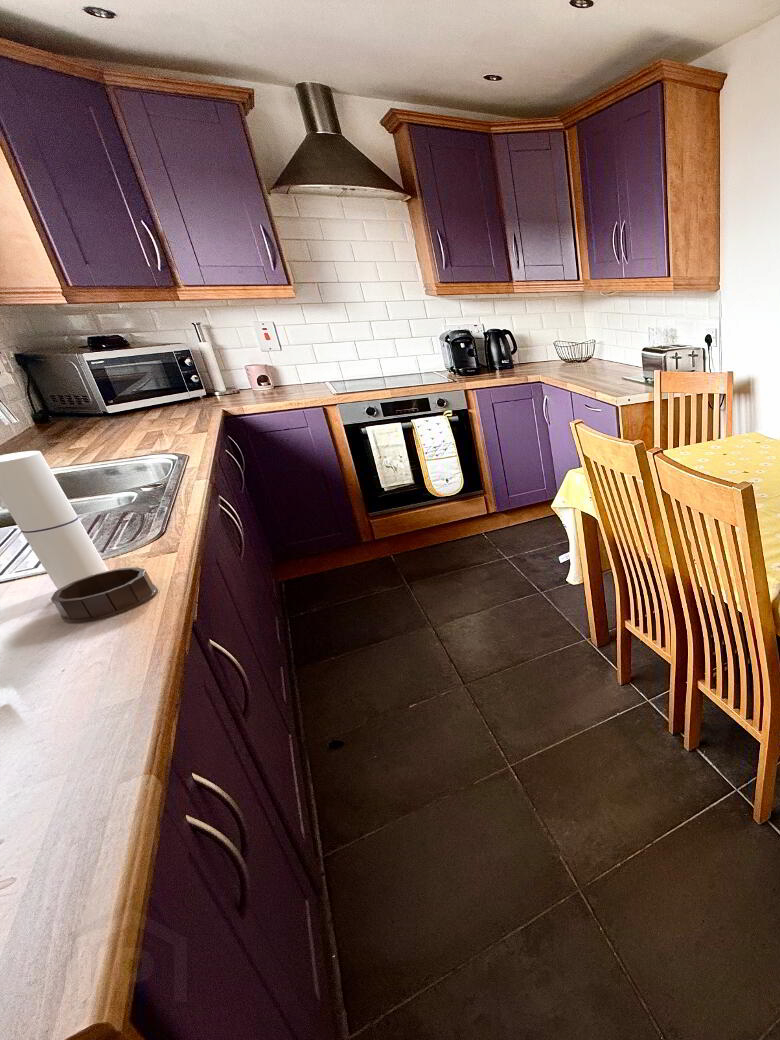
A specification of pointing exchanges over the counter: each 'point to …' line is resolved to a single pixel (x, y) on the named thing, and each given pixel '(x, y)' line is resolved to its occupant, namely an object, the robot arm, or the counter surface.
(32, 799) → the counter surface
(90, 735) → the counter surface
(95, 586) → the ring
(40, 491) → the cylindrical container
